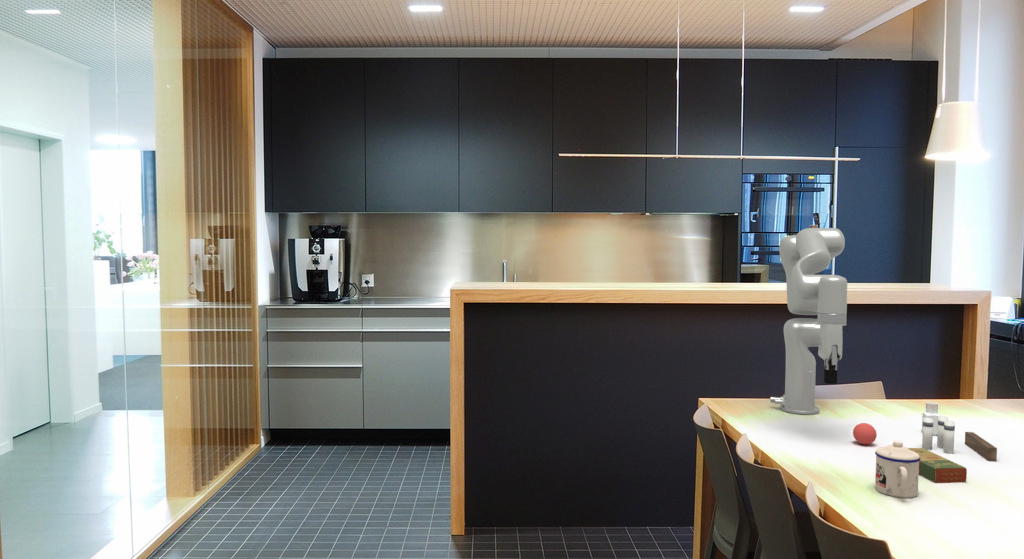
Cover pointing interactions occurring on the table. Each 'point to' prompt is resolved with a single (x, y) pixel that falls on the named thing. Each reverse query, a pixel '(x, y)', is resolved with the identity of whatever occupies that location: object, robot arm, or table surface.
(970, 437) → the rail
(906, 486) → the teacup with lid
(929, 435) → the pin front
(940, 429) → the pin rear left
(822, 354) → the robot arm
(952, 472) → the carton
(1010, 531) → the table surface
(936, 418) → the salt shaker
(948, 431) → the pin rear right
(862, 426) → the ball
